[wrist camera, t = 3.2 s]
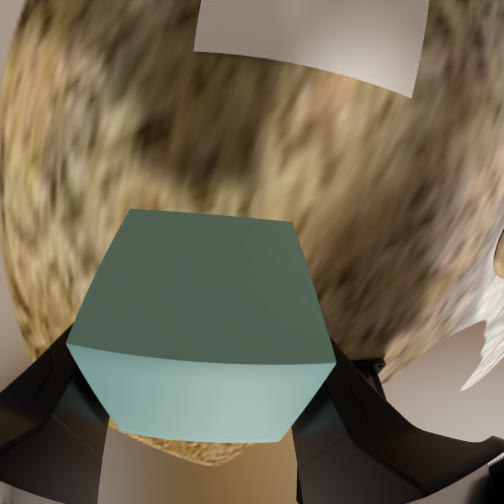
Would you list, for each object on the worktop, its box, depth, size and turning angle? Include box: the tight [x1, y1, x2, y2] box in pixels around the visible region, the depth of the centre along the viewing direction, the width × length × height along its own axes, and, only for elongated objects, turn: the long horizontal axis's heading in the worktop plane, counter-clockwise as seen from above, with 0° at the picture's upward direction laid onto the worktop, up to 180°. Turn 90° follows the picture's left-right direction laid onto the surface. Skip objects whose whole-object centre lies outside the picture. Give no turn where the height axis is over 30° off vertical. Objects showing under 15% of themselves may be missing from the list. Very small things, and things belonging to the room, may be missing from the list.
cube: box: [66, 209, 337, 443], centre depth 8 cm, size 5×5×5 cm
